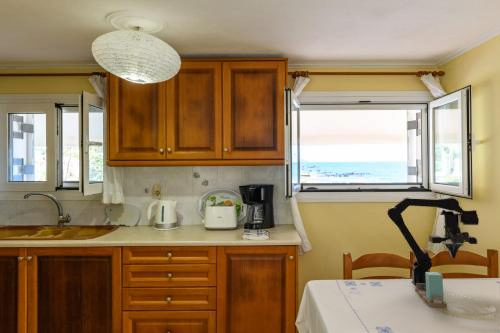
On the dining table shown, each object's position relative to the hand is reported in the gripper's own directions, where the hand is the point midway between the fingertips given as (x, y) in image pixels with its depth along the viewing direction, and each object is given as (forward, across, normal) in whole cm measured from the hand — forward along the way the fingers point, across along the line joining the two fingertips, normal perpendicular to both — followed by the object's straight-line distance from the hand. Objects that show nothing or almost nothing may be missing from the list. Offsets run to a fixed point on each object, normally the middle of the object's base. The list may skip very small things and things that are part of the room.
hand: (453, 258), depth 154 cm
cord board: (+13, -16, -18) cm, 28 cm away
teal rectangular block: (+11, -16, -25) cm, 32 cm away
